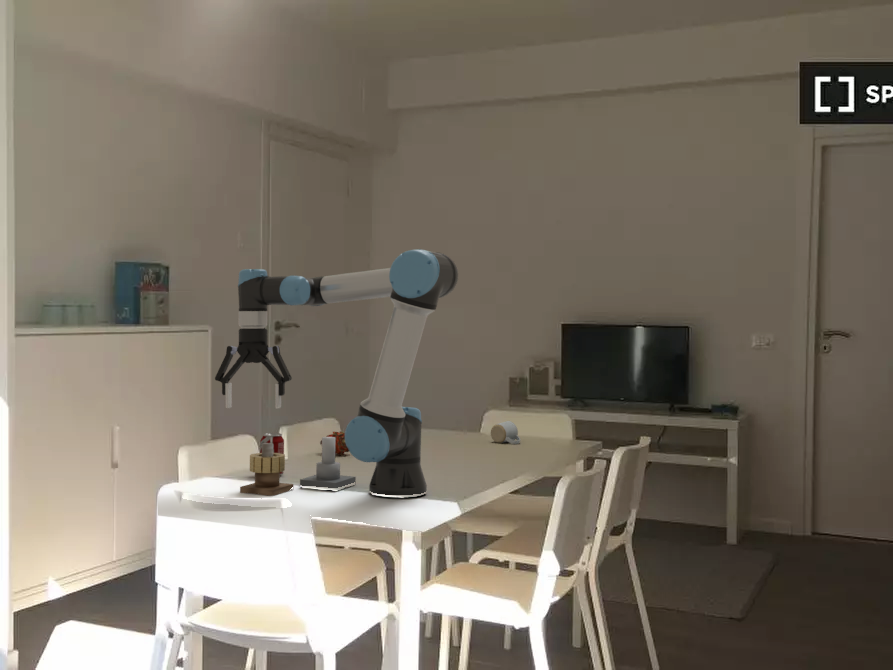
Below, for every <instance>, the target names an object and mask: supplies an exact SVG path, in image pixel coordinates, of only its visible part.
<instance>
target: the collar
mask: <svg viewBox="0 0 893 670" xmlns="http://www.w3.org/2000/svg"><path fill="white" fill-rule="evenodd" d="M285 461H286V454H285V453H284V454H280V453H273V456H270V457H264V456H262V453H260V452H257V453H251V454H250V455H249V472H252V473H254V474H255V473H278V472H283V471H284V472H285V469H286V466H285V465H286V462H285Z"/></svg>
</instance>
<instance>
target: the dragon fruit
mask: <svg viewBox="0 0 893 670" xmlns="http://www.w3.org/2000/svg"><path fill="white" fill-rule="evenodd" d="M325 437H335V455H336V454H337V455H338V456H344V454H345V453H350V452H349V449H348V447H347V446H346V443H345V431H343V430H342V431H341V430H339V431H332V433H331V434H328V435H326V436H325ZM319 444H320V446H322V439H320V441H319Z"/></svg>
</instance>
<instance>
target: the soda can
mask: <svg viewBox="0 0 893 670" xmlns="http://www.w3.org/2000/svg"><path fill="white" fill-rule="evenodd" d="M282 435H283V434H282V433H279V432H278V433H277V432H266V433H262V437H261V439H260V441H259V442H260V443H259V444H260V445H259V446H260V447H259V453H262V444H263V443H273V453H280V454H285V439H284V437H283V436H282ZM284 472H285V471H283V472H280V475H284Z"/></svg>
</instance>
